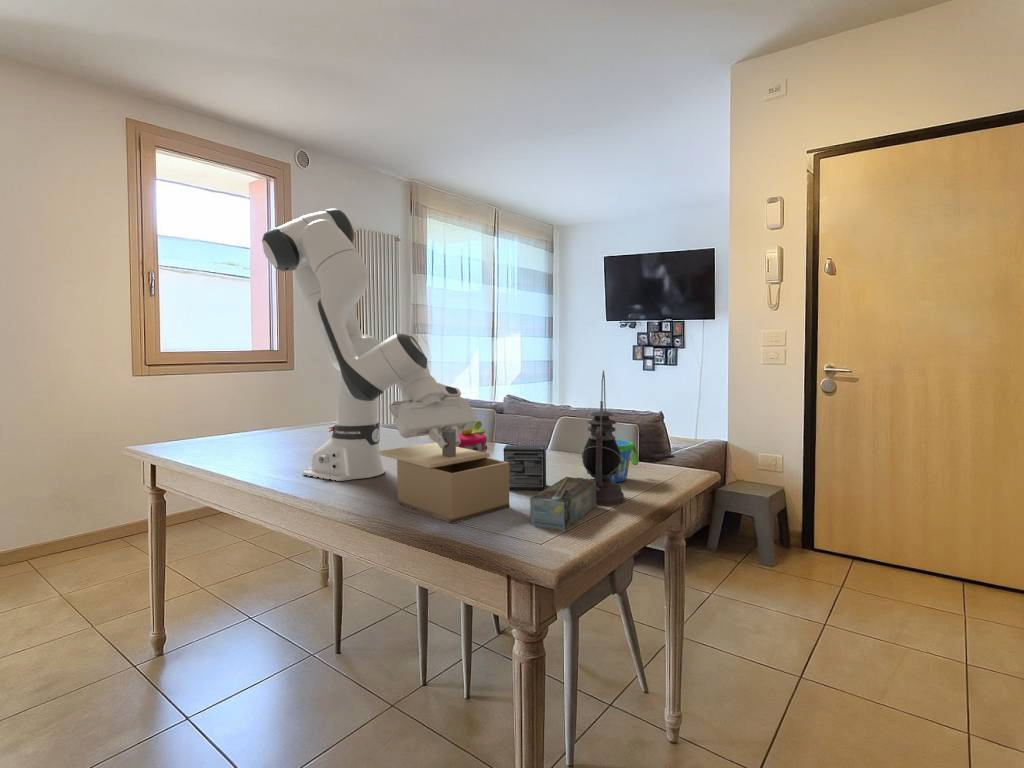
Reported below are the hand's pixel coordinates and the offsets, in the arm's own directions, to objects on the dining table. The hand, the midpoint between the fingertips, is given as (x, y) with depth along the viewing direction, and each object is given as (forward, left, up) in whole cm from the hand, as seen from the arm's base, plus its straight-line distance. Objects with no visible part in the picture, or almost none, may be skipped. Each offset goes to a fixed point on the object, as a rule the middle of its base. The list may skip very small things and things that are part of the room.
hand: (451, 445), depth 121 cm
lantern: (+31, +14, -14) cm, 37 cm away
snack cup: (+31, +33, -14) cm, 48 cm away
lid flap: (-6, +3, -3) cm, 7 cm away
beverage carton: (+26, 0, -14) cm, 30 cm away
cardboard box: (0, -1, -13) cm, 13 cm away
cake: (-8, +27, -14) cm, 32 cm away
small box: (+11, +19, -14) cm, 26 cm away
